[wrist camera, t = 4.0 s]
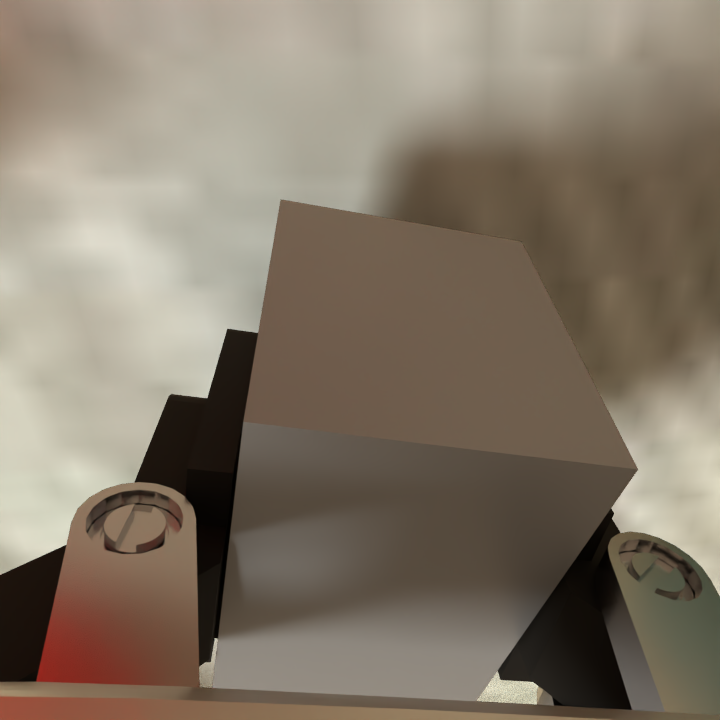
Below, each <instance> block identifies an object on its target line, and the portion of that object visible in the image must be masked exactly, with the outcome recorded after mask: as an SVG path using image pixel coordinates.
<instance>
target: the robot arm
mask: <svg viewBox="0 0 720 720" xmlns="http://www.w3.org/2000/svg"><path fill="white" fill-rule="evenodd" d="M257 338H258V333H253V332H246V331H239V330H232V329H227V332H226V336H225V339H224V343H223V346H222V350H221V353H220V357H219V360H218V363H217V367H216V370H215V374H214V377H213V381H212V384H211V388H210V391H209V395H208V398H199V397H191V396H182V395H174V394H171V395H170V396H169V398H168V399H167V402H166V404H165V407H164V409H163V412H162V415H161V417H160V420H159V422H158V425H157V427H156V430H155V432H154V435H153V437H152V440H151V442H150V445H149V447H148V450H147V452H146V455H145V457H144V460H143V462H142V465H141V467H140V470H139V472H138V475H137V478H136V480H135V483H126V484H120V485H116V486H113V487H110V488H107V489H104V490H102V491H100V492H98V493H96V494H95V495H93V496H91V497H89V498H88V499H87V500H86V501H85V502H84V503H83V504H82V505H81V506H80V507H79V508H78V509H77V511H76V513H75V516H74V518H73V520H72V522H71V527H70V531H69V536H68V540H67V545H65V546H63V547H61V548H59V549H56V550H54V551H52V552H50V553H48V554H45V555H43V556H41V557H39V558H37V559H34V560H32V561H30V562H28V563H26V564H23V565H21V566H19V567H17V568H15V569H13V570H10V571H8V572H6V573H4V574H2V575H0V720H720V596H719V594H718V593H717V591H716V589H715V587H714V585H713V583H712V581H711V580H710V578H709V577H708V575H707V574H706V573H705V571H704V570H703V568H702V567H701V566H700V565H699V564H698V563H697V562H696V561H695V560H693V559H692V558H691V557H690V556H689V555H688V554H686V553H685V552H683V551H682V550H680V549H679V548H678V547H676V546H675V545H673V544H670V543H668V542H666V541H664V540H662V539H660V538H658V537H655V536H651V535H648V534H645V533H638V532H624V533H620V531H619V530H618V528H617V526H616V525H615V523H614V522H613V520H612V517H613V515H614V512H613V511H612V509H610V510H609V512H608V513H607V515H606V516H605V517H604V519H603V520H602V522H601V523H600V525H599V526H598V527H597V529H596V530H595V532H594V533H593V535H592V536H591V537H590V539H589V540H588V542H587V543H586V545H585V546H584V547H583V549H582V550H581V552H580V553H579V555H578V556H577V558H576V559H575V560H574V562H573V563H572V565H571V566H570V568H569V569H568V570H567V572H566V573H565V575H564V576H563V578H562V579H561V580H560V582H559V583H558V585H557V586H556V588H555V589H554V590H553V592H552V593H551V595H550V596H549V598H548V599H547V600H546V602H545V603H544V605H543V606H542V608H541V609H540V610H539V612H538V613H537V615H536V616H535V618H534V619H533V621H532V622H531V623H530V625H529V626H528V628H527V629H526V631H525V632H524V633H523V635H522V636H521V638H520V639H519V641H518V642H517V643H516V645H515V646H514V648H513V649H512V651H511V652H510V653H509V655H508V656H507V658H506V659H505V661H504V662H503V663H502V665H501V666H500V668H499V669H498V673H499V676H500V679H501V680H512V681H528V682H534V683H535V684H537V685H538V686H539V687H538V690H537V705H534V704H516V703H498V702H479V701H461V700H442V699H424V698H405V697H386V696H366V695H345V694H325V693H305V692H284V691H264V690H243V689H223V688H203V687H199V666H201V665H202V664H203V663H205V662H211V657H212V651H213V645H214V638H218V634H219V626H220V617H221V609H222V600H223V591H224V583H225V574H226V566H227V557H228V549H229V540H230V532H231V523H232V514H233V506H234V497H235V489H236V480H237V472H238V463H239V455H240V446H241V437H242V429H243V421H244V415H245V409H246V403H247V397H248V391H249V385H250V379H251V373H252V367H253V361H254V355H255V350H256V344H257Z"/></svg>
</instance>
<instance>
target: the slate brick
mask: <svg viewBox="0 0 720 720" xmlns="http://www.w3.org/2000/svg"><path fill="white" fill-rule="evenodd" d="M637 470H638V468H637V467H636V465H635V463H634V461H633V459H632V457H631V455H630V453H629V451H628V449H627V447H626V445H625V443H624V441H623V439H622V437H621V435H620V433H619V431H618V429H617V427H616V425H615V423H614V421H613V419H612V418H611V416H610V414H609V412H608V410H607V408H606V406H605V404H604V402H603V400H602V398H601V396H600V394H599V392H598V390H597V388H596V386H595V384H594V382H593V380H592V378H591V376H590V374H589V372H588V371H587V369H586V367H585V365H584V363H583V361H582V359H581V357H580V355H579V353H578V351H577V349H576V347H575V345H574V343H573V341H572V339H571V337H570V335H569V333H568V331H567V329H566V327H565V325H564V323H563V322H562V320H561V318H560V316H559V314H558V312H557V310H556V308H555V306H554V304H553V302H552V300H551V298H550V296H549V294H548V292H547V290H546V288H545V286H544V284H543V282H542V280H541V278H540V276H539V274H538V273H537V271H536V269H535V267H534V265H533V263H532V261H531V259H530V257H529V255H528V253H527V251H526V249H525V247H524V245H523V243H522V241H516V240H510V239H505V238H499V237H493V236H487V235H482V234H476V233H470V232H464V231H459V230H453V229H447V228H441V227H436V226H430V225H424V224H419V223H413V222H407V221H401V220H396V219H390V218H384V217H378V216H373V215H367V214H361V213H355V212H350V211H344V210H338V209H332V208H327V207H321V206H315V205H309V204H304V203H298V202H292V201H286V200H281V201H280V207H279V213H278V219H277V225H276V231H275V237H274V243H273V249H272V255H271V260H270V266H269V272H268V278H267V284H266V290H265V296H264V302H263V308H262V314H261V320H260V326H259V332H258V338H257V344H256V350H255V355H254V361H253V367H252V373H251V379H250V385H249V391H248V397H247V403H246V409H245V415H244V421H243V429H242V437H241V446H240V455H239V463H238V472H237V480H236V489H235V497H234V506H233V514H232V523H231V532H230V540H229V549H228V557H227V566H226V574H225V583H224V591H223V600H222V609H221V617H220V626H219V634H218V643H217V651H216V660H215V668H214V677H213V686H212V688H223V689H243V690H264V691H284V692H305V693H325V694H345V695H366V696H386V697H405V698H424V699H442V700H461V701H477V699H478V698H479V696H480V695H481V694H482V692H483V691H484V689H485V688H486V686H487V685H488V684H489V682H490V681H491V679H492V678H493V676H494V675H495V673H496V672H497V671H498V669H499V668H500V666H501V665H502V663H503V662H504V661H505V659H506V658H507V656H508V655H509V653H510V652H511V651H512V649H513V648H514V646H515V645H516V643H517V642H518V641H519V639H520V638H521V636H522V635H523V633H524V632H525V631H526V629H527V628H528V626H529V625H530V623H531V622H532V621H533V619H534V618H535V616H536V615H537V613H538V612H539V610H540V609H541V608H542V606H543V605H544V603H545V602H546V600H547V599H548V598H549V596H550V595H551V593H552V592H553V590H554V589H555V588H556V586H557V585H558V583H559V582H560V580H561V579H562V578H563V576H564V575H565V573H566V572H567V570H568V569H569V568H570V566H571V565H572V563H573V562H574V560H575V559H576V558H577V556H578V555H579V553H580V552H581V550H582V549H583V547H584V546H585V545H586V543H587V542H588V540H589V539H590V537H591V536H592V535H593V533H594V532H595V530H596V529H597V527H598V526H599V525H600V523H601V522H602V520H603V519H604V517H605V516H606V515H607V513H608V512H609V510H610V509H611V507H612V506H613V505H614V503H615V502H616V500H617V499H618V497H619V496H620V495H621V493H622V492H623V490H624V489H625V487H626V486H627V484H628V483H629V482H630V480H631V479H632V477H633V476H634V474H635V473H636V472H637Z"/></svg>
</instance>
